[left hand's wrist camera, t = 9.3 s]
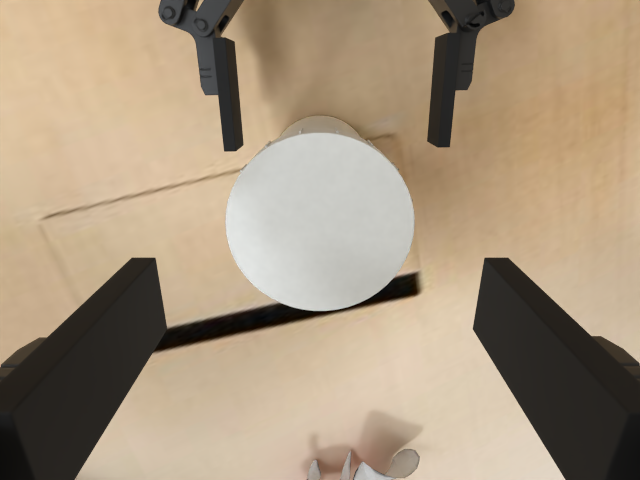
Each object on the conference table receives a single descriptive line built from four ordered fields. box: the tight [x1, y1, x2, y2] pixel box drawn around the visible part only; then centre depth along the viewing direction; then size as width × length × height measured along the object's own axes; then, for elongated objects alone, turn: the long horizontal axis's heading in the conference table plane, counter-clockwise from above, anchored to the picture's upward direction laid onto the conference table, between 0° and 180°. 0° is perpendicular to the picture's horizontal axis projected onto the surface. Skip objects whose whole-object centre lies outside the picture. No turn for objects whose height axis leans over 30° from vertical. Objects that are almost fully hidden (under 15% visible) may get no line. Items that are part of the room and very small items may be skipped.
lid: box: [225, 127, 415, 311], centre depth 20 cm, size 9×9×2 cm
